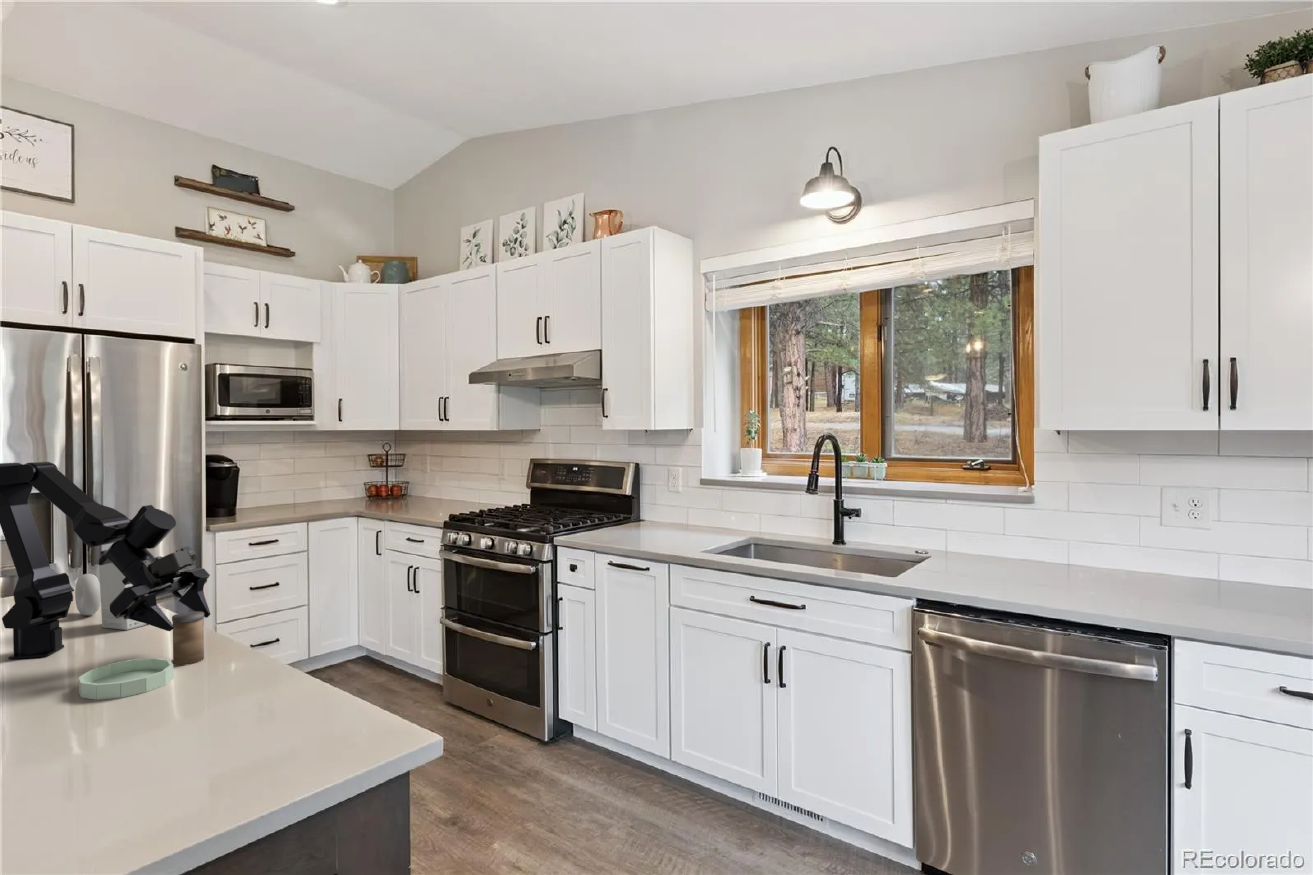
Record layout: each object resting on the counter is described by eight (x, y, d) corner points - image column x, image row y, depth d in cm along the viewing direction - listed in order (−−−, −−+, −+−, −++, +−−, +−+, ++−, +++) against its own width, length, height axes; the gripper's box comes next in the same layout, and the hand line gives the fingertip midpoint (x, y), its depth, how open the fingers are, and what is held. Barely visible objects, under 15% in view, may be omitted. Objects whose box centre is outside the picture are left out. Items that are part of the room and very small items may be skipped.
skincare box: (154, 623, 161) (153, 556, 161) (124, 631, 155) (123, 561, 155) (128, 620, 164) (128, 553, 164) (98, 627, 158) (97, 559, 157)
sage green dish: (63, 702, 116) (62, 687, 116) (103, 675, 128) (103, 661, 128) (153, 695, 119) (153, 680, 119) (184, 669, 132) (184, 655, 132)
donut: (103, 617, 166) (103, 575, 166) (85, 620, 164) (84, 578, 163) (91, 610, 172) (90, 569, 172) (73, 613, 170) (72, 572, 169)
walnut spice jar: (167, 666, 133) (167, 619, 133) (179, 657, 138) (178, 612, 138) (198, 664, 134) (198, 617, 134) (208, 655, 139) (208, 610, 139)
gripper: (122, 544, 127) (179, 606, 126) (200, 529, 146) (250, 583, 145) (84, 586, 128) (140, 648, 127) (166, 566, 147) (216, 620, 146)
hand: (190, 622), depth 136 cm, fingers open, 9 cm apart
